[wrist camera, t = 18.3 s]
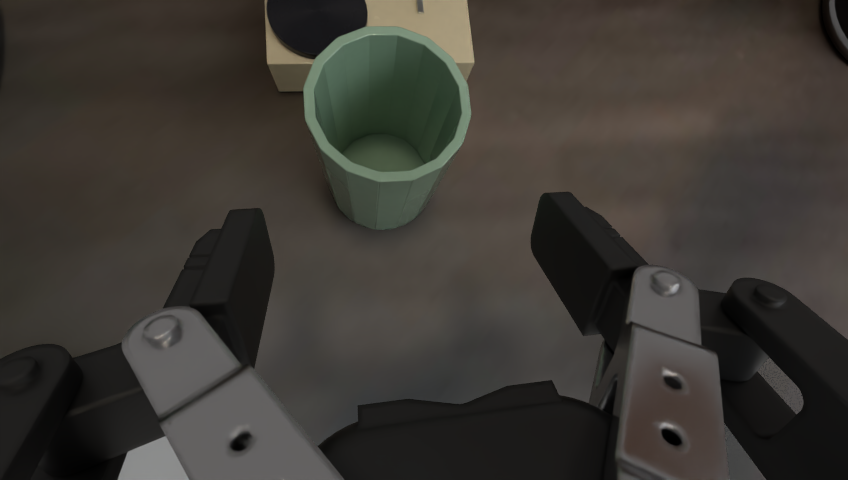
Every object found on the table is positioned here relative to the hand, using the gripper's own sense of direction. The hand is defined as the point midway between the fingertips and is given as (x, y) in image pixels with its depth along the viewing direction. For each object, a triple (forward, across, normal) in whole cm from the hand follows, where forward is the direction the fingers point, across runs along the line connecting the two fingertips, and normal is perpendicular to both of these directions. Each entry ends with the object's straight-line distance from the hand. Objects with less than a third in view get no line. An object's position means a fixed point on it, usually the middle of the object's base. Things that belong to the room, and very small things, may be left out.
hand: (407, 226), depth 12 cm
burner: (+17, +3, -3) cm, 18 cm away
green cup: (+13, 0, +5) cm, 14 cm away
